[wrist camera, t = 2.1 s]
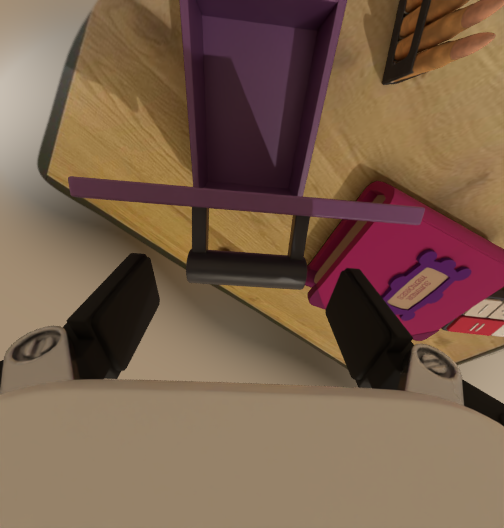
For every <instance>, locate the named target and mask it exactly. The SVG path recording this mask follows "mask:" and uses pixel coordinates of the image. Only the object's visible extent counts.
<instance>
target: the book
mask: <svg viewBox="0 0 504 528" xmlns="http://www.w3.org/2000/svg"><path fill="white" fill-rule="evenodd" d="M357 201H358V202H369V203H381V204H392V205H403V206H415V207H423V208H425V212H424V215H423V218H422V221H421V224H420V225H408V224H396V223H384V222H372V221H360V220H348V219H343V220H342V221H341V222H340V224H339V225H338V226H337V228H336V229H335V230H334V232H333V233H332V234H331V236H330V237H329V239H328V240H327V241H326V243H325V244H324V245H323V247H322V248H321V249H320V251H319V252H318V253H317V255H316V256H315V257H314V259H313V260H312V262H311V263H310V264H309V265H307V278H306V283H305V285H306V286H309V287H312V288H311V290H310V291H309V292H308V300H309V303H310V304H311V305H313V306H316V307H319V308H322V309H325V310H326V307H327V305H328V302H329V300H330V297H331V295H332V293H333V290H334V288H335V285H336V283H337V280H338V278H339V276H340V273H341V272H342V271H344V270H345V269H346V268H356V269H360V270H361V271H362V273H363V274H364V275H365V276H366V278H367V279H368V280H369V282H370V283H371V284H372V285H373V287H374V288H375V289H376V291H377V292H378V293H379V294H380V296H381V297H382V298H383V300H384V301H385V302H386V303H387V305H388V306H389V307H390V309H391V310H392V311H393V312H394V314H395V315H396V316H397V318H398V319H399V320H400V322H401V323H402V324H403V325H404V327H405V328H406V329H407V331H408V332H409V333H410V334H411V336H412V337H413V340H416V341H422V340H425V339H427V338H428V337H430V336H431V335H433V334H435V333H436V332H438V331H439V329H440V328H442V327H443V326H445V325H446V324H448V323H449V322H451V321H452V320H454V319H455V318H457V317H458V316H460V315H461V314H463V313H465V312H466V311H468V310H469V309H471V308H472V307H474V306H475V305H477V304H478V303H480V302H481V301H483V300H484V299H486V298H487V297H489V296H490V295H492V294H493V293H495V292H496V291H498V290H499V289H501V288H502V287H504V249H502V248H501V247H499V246H497V245H495V244H493V243H492V242H490V241H488V240H486V239H485V238H483V237H481V236H479V235H478V234H476V233H474V232H472V231H470V230H469V229H467V228H465V227H463V226H462V225H460V224H458V223H456V222H455V221H453V220H451V219H449V218H448V217H446V216H444V215H442V214H440V213H439V212H437V211H435V210H433V209H432V208H430V207H428V206H426V205H425V204H423V203H421V202H419V201H418V200H416V199H414V198H412V197H410V196H409V195H407V194H405V193H403V192H402V191H400V190H398V189H396V188H395V187H393V186H391V185H389V184H387V183H384V182H381V181H375V182H373V183H371V184H370V185H369V186H368V187H366V188H365V190H364V191H363V192H362V194H361V195H360V197H359V198H358V199H357Z"/></svg>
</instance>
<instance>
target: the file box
mask: <svg viewBox="0 0 504 528" xmlns="http://www.w3.org/2000/svg"><path fill="white" fill-rule="evenodd" d="M346 3H347V0H180V13H181V27H182V40H183V54H184V67H185V80H186V94H187V107H188V121H189V134H190V148H191V161H192V174H193V187H198V188H209V189H221V190H232V191H244V192H255V193H266V194H278V195H289V196H301V197H303V193H304V188H305V184H306V180H307V175H308V171H309V166H310V162H311V157H312V153H313V149H314V144H315V140H316V135H317V131H318V127H319V122H320V118H321V113H322V109H323V104H324V100H325V96H326V91H327V87H328V82H329V78H330V74H331V69H332V65H333V60H334V56H335V51H336V47H337V43H338V38H339V34H340V29H341V25H342V21H343V16H344V12H345V7H346Z"/></svg>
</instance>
